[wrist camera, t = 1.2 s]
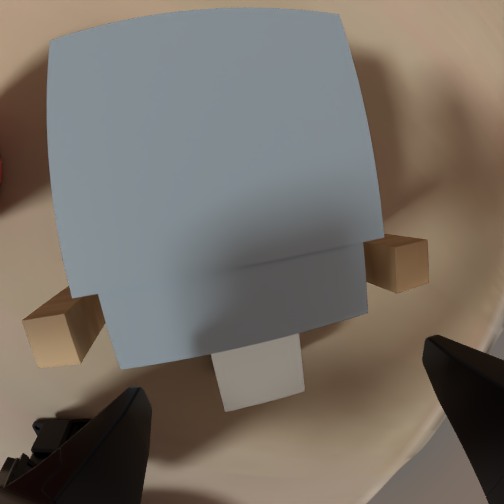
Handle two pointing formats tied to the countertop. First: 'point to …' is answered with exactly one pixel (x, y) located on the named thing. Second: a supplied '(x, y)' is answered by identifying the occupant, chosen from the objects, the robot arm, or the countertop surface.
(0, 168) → the flower pot
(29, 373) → the countertop surface
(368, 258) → the frame
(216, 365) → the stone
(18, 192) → the countertop surface
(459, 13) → the countertop surface
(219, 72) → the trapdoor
